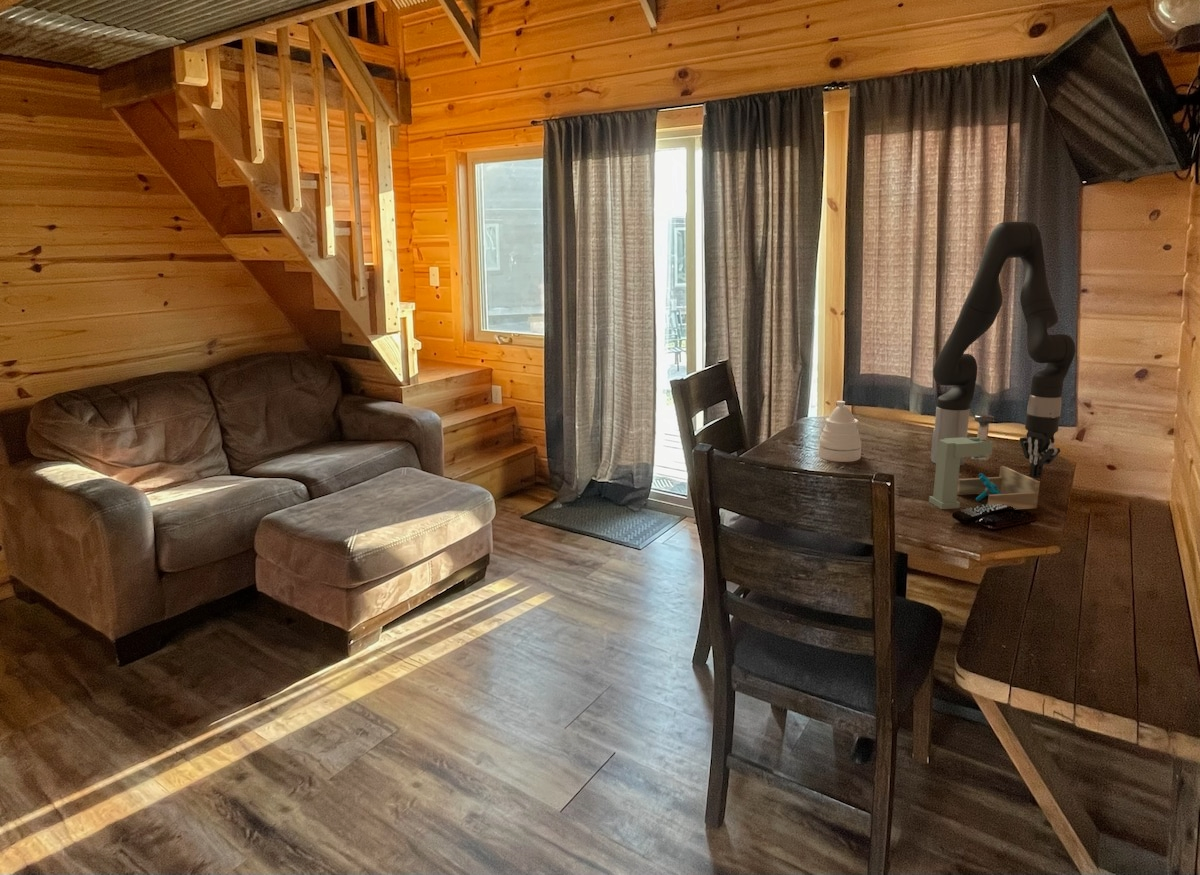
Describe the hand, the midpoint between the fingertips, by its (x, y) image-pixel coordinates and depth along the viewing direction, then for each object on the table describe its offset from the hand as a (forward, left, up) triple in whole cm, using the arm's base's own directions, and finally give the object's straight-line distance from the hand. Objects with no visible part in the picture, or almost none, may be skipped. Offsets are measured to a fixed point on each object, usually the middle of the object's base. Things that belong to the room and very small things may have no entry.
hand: (1035, 477), depth 209 cm
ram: (0, -16, +6) cm, 17 cm away
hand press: (0, -21, -6) cm, 22 cm away
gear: (0, -12, -6) cm, 13 cm away
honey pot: (-49, -31, -6) cm, 58 cm away
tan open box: (0, -11, -6) cm, 13 cm away
